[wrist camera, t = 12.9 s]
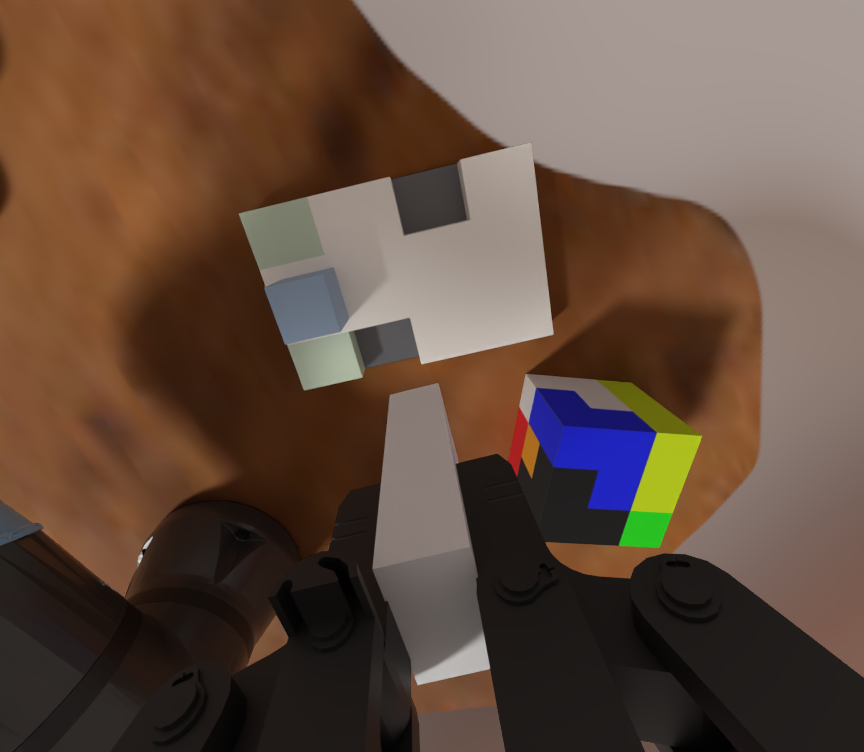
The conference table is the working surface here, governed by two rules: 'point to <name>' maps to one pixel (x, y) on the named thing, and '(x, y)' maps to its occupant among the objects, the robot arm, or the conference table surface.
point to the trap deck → (415, 263)
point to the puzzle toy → (599, 460)
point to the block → (308, 305)
